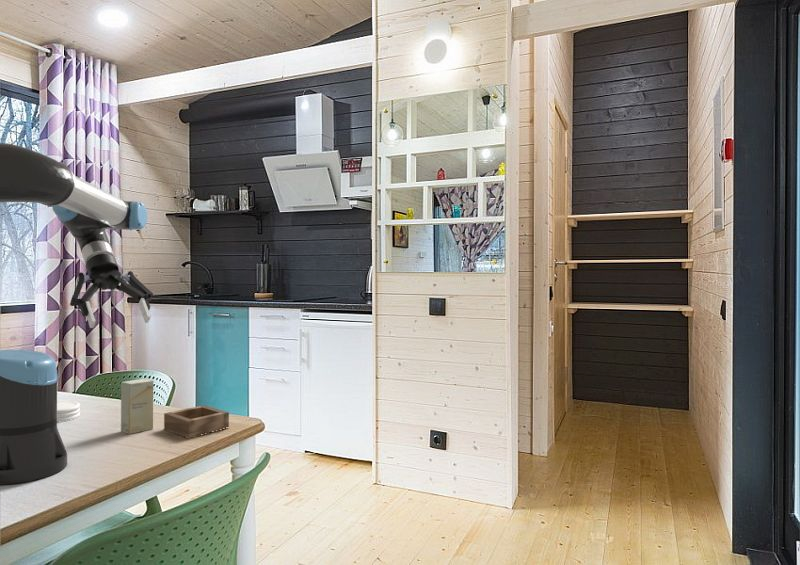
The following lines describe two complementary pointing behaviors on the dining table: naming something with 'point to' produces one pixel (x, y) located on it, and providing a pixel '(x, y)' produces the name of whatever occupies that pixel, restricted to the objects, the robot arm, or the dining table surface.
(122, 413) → the skincare box
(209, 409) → the holder
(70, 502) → the dining table surface
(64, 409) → the white round piece
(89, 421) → the dining table surface
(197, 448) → the dining table surface
